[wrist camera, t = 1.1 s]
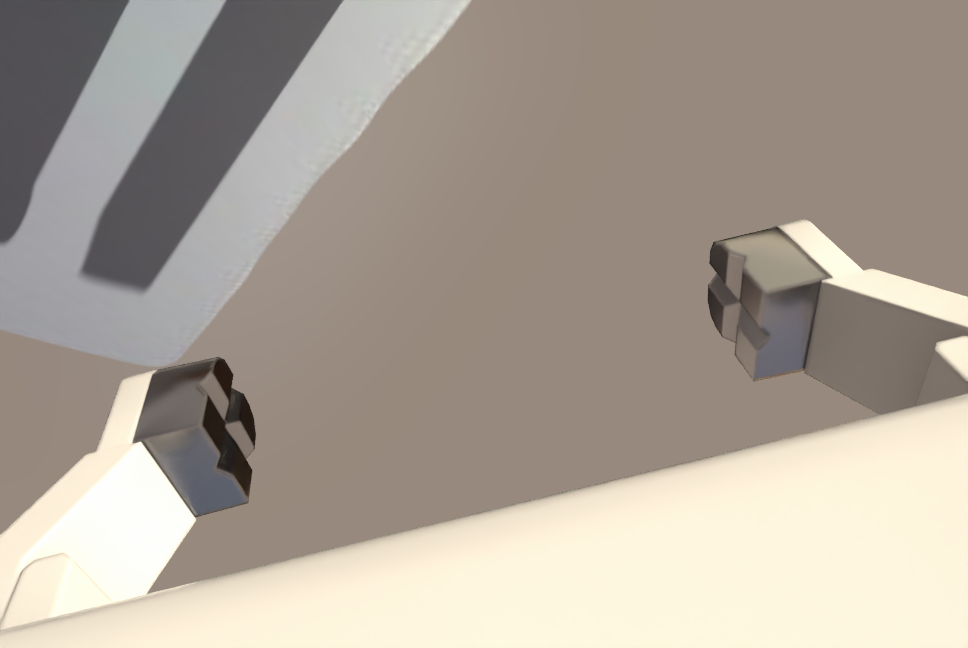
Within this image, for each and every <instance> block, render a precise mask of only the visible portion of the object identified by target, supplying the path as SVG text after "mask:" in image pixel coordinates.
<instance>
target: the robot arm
mask: <svg viewBox="0 0 968 648" xmlns="http://www.w3.org/2000/svg"><path fill="white" fill-rule="evenodd" d="M710 265H711V266H712V267H713V268H714V270H715V271H716V272H717V274H716V275H715V277H714V278H713V279H712V280H711V282H710V283H709V285H708V304H709V309H710V314H711V317H712V320H713V322H714V324H715V326H716V328H717V330H718V331H719V333H720V334H721V336H722V337H723V338H725V339H727V340H730V341H732V342H735V343H736V345H735V356H736V357H737V359H738V360H739V362H740V363H741V364H742V366H743V367H744V369H745V370H746V372H747V373H748V374H749V376H750V377H751V378H752V380H753V381H758V380H763V379H767V378H772V377H776V376H781V375H786V374H790V373H795V372H800V371H805V374H807V375H809V376H811V377H813V378H814V379H816V380H818V381H820V382H822V383H823V384H825V385H827V386H829V387H831V388H832V389H835V390H836V391H838V392H840V393H842V394H843V395H845V396H847V397H849V398H851V399H852V400H854V401H856V402H858V403H860V404H862V405H863V406H865V407H867V408H869V409H871V410H872V411H874V412H876V413H878V414H880V415H877V416H873V417H869V418H865V419H861V420H857V421H853V422H849V423H845V424H841V425H837V426H833V427H829V428H825V429H821V430H817V431H813V432H809V433H805V434H801V435H797V436H793V437H788V438H784V439H781V440H777V441H772V442H768V443H764V444H760V445H756V446H751V447H747V448H744V449H739V450H735V451H731V452H727V453H723V454H718V455H714V456H711V457H706V458H702V459H698V460H694V461H690V462H686V463H681V464H678V465H673V466H669V467H665V468H661V469H657V470H653V471H648V472H644V473H640V474H636V475H632V476H628V477H624V478H619V479H615V480H611V481H607V482H603V483H599V484H595V485H591V486H587V487H583V488H578V489H574V490H570V491H566V492H562V493H558V494H554V495H550V496H546V497H542V498H538V499H534V500H529V501H525V502H522V503H517V504H513V505H509V506H505V507H501V508H497V509H493V510H489V511H485V512H481V513H477V514H472V515H468V516H464V517H461V518H456V519H452V520H448V521H444V522H440V523H436V524H432V525H428V526H423V527H420V528H415V529H411V530H407V531H403V532H399V533H395V534H391V535H387V536H383V537H379V538H374V539H370V540H366V541H362V542H358V543H354V544H350V545H346V546H342V547H338V548H333V549H329V550H325V551H321V552H317V553H313V554H309V555H305V556H301V557H297V558H293V559H289V560H285V561H280V562H276V563H272V564H268V565H264V566H260V567H256V568H252V569H248V570H243V571H239V572H235V573H231V574H228V575H223V576H219V577H215V578H211V579H207V580H203V581H198V582H195V583H190V584H186V585H183V586H178V587H174V588H170V589H166V590H162V591H158V592H153V593H149V594H146V593H147V592H148V590H149V589H150V588H151V586H152V584H153V583H154V582H155V580H156V579H157V577H158V576H159V574H160V573H161V571H162V570H163V568H164V567H165V565H166V564H167V562H168V561H169V560H170V558H171V557H172V555H173V554H174V552H175V551H176V549H177V548H178V546H179V545H180V543H181V542H182V540H183V539H184V537H185V536H186V534H187V533H188V531H189V530H190V529H191V527H192V525H193V524H194V523H195V521H196V518H195V517H198V516H202V515H205V514H209V513H213V512H217V511H221V510H224V509H228V508H232V507H236V506H239V505H243V504H247V503H248V501H249V493H250V484H251V477H252V469H251V467H250V465H249V464H248V462H247V460H246V459H247V457H248V456H249V455H250V454H251V453H252V451H253V450H254V449H255V438H256V432H255V425H254V418H253V415H252V412H251V409H250V406H249V404H248V402H247V400H246V398H245V396H244V394H242V393H240V392H238V391H236V390H234V389H233V388H231V385H232V380H233V374H232V372H231V370H230V368H229V367H228V365H227V363H226V362H225V360H224V359H222V358H220V357H216V358H211V359H206V360H202V361H197V362H192V363H188V364H182V365H178V366H173V367H168V368H163V369H159V370H157V371H150V372H146V373H141V374H137V375H133V376H128V377H126V378H125V379H124V380H122V381H121V382H120V384H119V387H118V390H117V393H116V396H115V399H114V402H113V405H112V407H111V410H110V413H109V416H108V419H107V422H106V425H105V428H104V430H103V433H102V436H101V439H100V442H99V444H98V447H97V450H96V452H94V453H90V454H86V455H85V456H84V457H83V458H82V459H81V460H80V461H79V462H78V463H77V464H76V465H74V466H73V467H72V468H71V469H70V470H69V471H68V472H67V473H66V474H65V475H64V476H63V477H62V478H61V479H60V480H58V481H57V482H56V483H55V484H54V485H53V486H52V487H51V488H50V489H49V490H48V491H47V492H46V493H45V494H44V495H43V496H41V497H40V498H39V499H38V500H37V501H36V502H35V503H34V504H33V505H32V506H31V507H30V508H29V509H28V510H26V511H25V512H24V513H23V514H22V515H21V516H20V517H19V518H18V519H17V520H16V521H15V522H14V523H13V524H12V525H10V526H9V527H8V528H7V529H6V530H5V531H4V532H3V533H2V534H1V535H0V648H968V297H966V296H962V295H959V294H956V293H952V292H949V291H946V290H942V289H939V288H935V287H932V286H929V285H925V284H922V283H919V282H915V281H912V280H909V279H905V278H902V277H899V276H895V275H892V274H888V273H885V272H882V271H879V270H875V269H869V270H864V271H863V270H862V269H861V268H859V266H858V265H856V264H855V263H854V262H853V261H852V260H851V259H850V258H849V257H848V256H847V255H845V254H844V253H843V252H842V251H841V250H840V249H839V248H838V247H837V246H836V245H835V244H834V243H832V242H831V241H830V240H829V239H828V238H827V237H826V236H825V235H824V234H823V233H822V232H820V231H819V230H818V229H817V228H816V227H815V226H814V225H813V224H812V223H811V222H809V221H807V220H803V219H801V220H797V221H793V222H789V223H786V224H782V225H778V226H774V227H772V228H771V229H766V230H762V231H758V232H754V233H749V234H745V235H741V236H737V237H733V238H728V239H724V240H720V241H716V242H713V245H712V248H711V251H710Z"/></svg>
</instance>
